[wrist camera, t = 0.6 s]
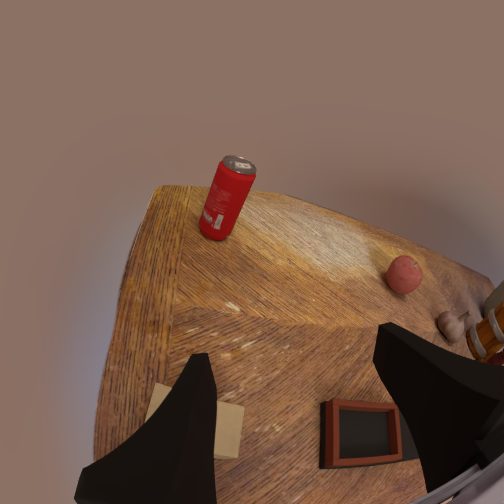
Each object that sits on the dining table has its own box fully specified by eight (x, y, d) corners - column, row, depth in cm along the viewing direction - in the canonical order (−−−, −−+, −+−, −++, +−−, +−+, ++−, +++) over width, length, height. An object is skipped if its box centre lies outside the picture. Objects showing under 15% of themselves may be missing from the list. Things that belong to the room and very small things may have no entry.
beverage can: (194, 219, 43) (216, 152, 36) (224, 220, 46) (250, 157, 38) (201, 242, 40) (227, 172, 33) (233, 242, 43) (263, 177, 35)
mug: (483, 339, 53) (520, 306, 44) (489, 386, 41) (536, 352, 31) (463, 322, 54) (503, 284, 45) (469, 370, 42) (520, 331, 32)
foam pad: (224, 459, 21) (238, 457, 18) (140, 439, 19) (141, 434, 17) (231, 415, 24) (244, 406, 22) (153, 393, 23) (155, 382, 21)
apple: (401, 307, 48) (428, 281, 43) (375, 282, 50) (401, 254, 45) (408, 290, 53) (432, 266, 48) (384, 268, 55) (407, 242, 50)
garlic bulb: (455, 350, 45) (481, 329, 40) (436, 339, 45) (464, 316, 40) (450, 325, 51) (474, 304, 46) (432, 313, 51) (457, 290, 46)
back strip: (480, 440, 29) (490, 435, 27) (319, 468, 22) (332, 466, 21) (474, 405, 35) (483, 400, 34) (320, 403, 29) (332, 396, 27)
